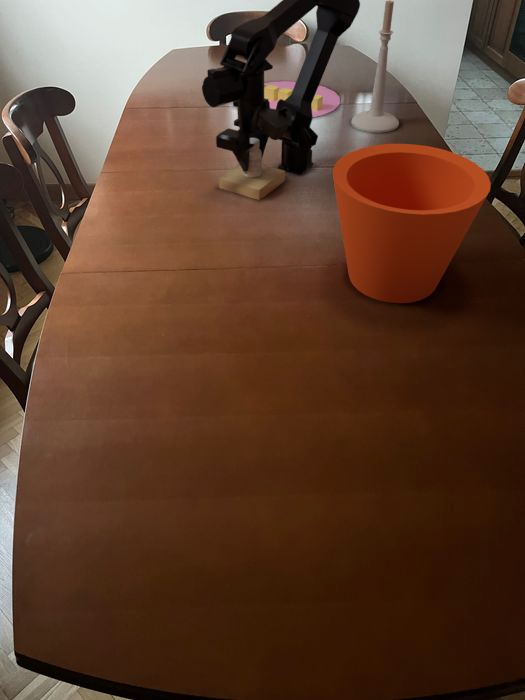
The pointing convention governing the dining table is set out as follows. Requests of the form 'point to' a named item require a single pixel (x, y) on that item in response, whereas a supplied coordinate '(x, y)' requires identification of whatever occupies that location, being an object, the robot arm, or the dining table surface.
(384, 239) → the flowerpot
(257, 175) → the pill bottle
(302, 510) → the dining table surface
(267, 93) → the platter
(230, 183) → the birch board
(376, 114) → the candlestick
